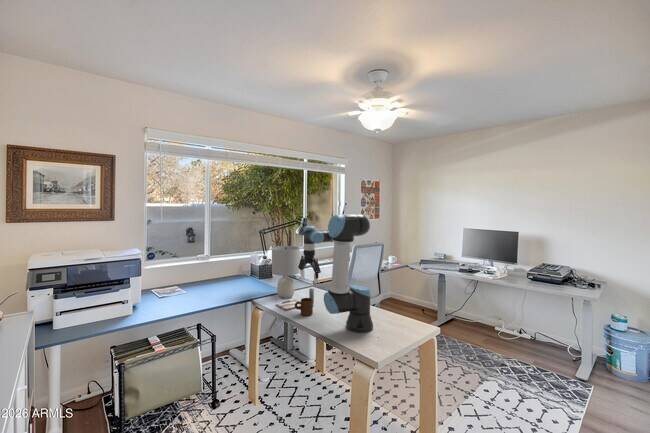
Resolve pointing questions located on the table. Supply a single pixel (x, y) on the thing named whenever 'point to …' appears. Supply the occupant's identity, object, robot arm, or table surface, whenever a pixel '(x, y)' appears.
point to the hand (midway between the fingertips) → (309, 281)
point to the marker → (311, 294)
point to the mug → (305, 306)
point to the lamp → (285, 268)
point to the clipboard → (288, 305)
